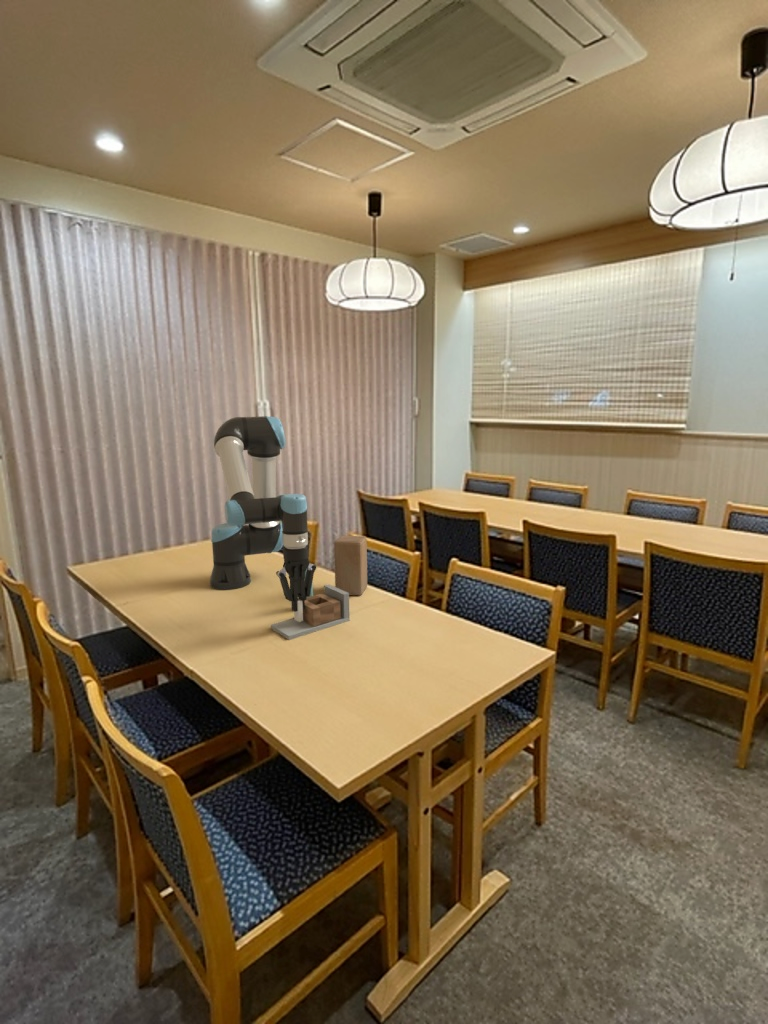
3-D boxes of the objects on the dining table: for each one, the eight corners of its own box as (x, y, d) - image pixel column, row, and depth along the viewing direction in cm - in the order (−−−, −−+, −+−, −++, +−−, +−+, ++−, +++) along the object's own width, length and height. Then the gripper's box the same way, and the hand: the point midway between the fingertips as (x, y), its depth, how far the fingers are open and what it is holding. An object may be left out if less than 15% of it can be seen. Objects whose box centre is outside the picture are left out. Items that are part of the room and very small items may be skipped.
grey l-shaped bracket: (270, 628, 169) (269, 600, 167) (330, 610, 183) (329, 584, 181) (288, 639, 161) (287, 610, 159) (349, 620, 174) (348, 593, 173)
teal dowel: (302, 607, 186) (300, 568, 183) (310, 605, 188) (308, 566, 185) (307, 610, 183) (305, 570, 180) (315, 608, 185) (313, 568, 182)
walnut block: (296, 616, 174) (296, 600, 173) (323, 609, 180) (322, 593, 179) (313, 626, 166) (313, 609, 165) (340, 618, 173) (340, 601, 171)
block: (361, 596, 196) (360, 542, 192) (334, 594, 198) (333, 541, 194) (368, 587, 205) (367, 535, 201) (342, 585, 207) (340, 534, 203)
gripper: (282, 552, 157) (286, 629, 162) (320, 544, 165) (323, 618, 170) (270, 547, 163) (273, 621, 167) (307, 540, 171) (310, 611, 175)
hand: (298, 620), depth 168 cm, fingers closed
